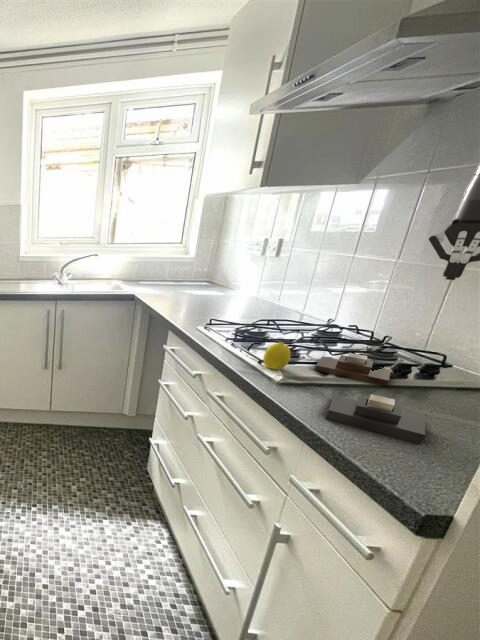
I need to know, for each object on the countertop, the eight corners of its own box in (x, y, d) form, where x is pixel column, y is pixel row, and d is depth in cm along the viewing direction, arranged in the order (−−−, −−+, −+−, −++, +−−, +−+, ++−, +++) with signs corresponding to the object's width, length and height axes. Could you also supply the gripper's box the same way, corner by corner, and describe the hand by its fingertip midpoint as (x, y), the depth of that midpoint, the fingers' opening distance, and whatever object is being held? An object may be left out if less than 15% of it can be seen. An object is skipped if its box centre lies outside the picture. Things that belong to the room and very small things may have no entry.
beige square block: (365, 362, 107) (367, 356, 106) (363, 366, 104) (366, 359, 104) (346, 359, 109) (349, 352, 108) (345, 362, 107) (347, 356, 106)
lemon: (264, 373, 109) (273, 344, 106) (256, 366, 114) (265, 338, 111) (288, 375, 108) (298, 346, 104) (279, 368, 113) (288, 339, 109)
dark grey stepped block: (420, 426, 84) (429, 408, 82) (420, 445, 77) (429, 426, 75) (331, 404, 93) (338, 387, 91) (325, 419, 86) (331, 402, 84)
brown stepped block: (387, 377, 107) (393, 363, 105) (385, 388, 100) (392, 373, 99) (319, 363, 116) (324, 350, 114) (313, 373, 109) (318, 358, 108)
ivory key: (391, 407, 83) (395, 399, 83) (390, 413, 81) (394, 405, 80) (367, 401, 86) (371, 394, 85) (366, 407, 83) (369, 399, 83)
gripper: (532, 198, 88) (491, 281, 95) (442, 198, 96) (410, 274, 103) (539, 197, 83) (494, 285, 90) (443, 198, 92) (409, 277, 99)
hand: (449, 279), depth 97 cm, fingers closed
